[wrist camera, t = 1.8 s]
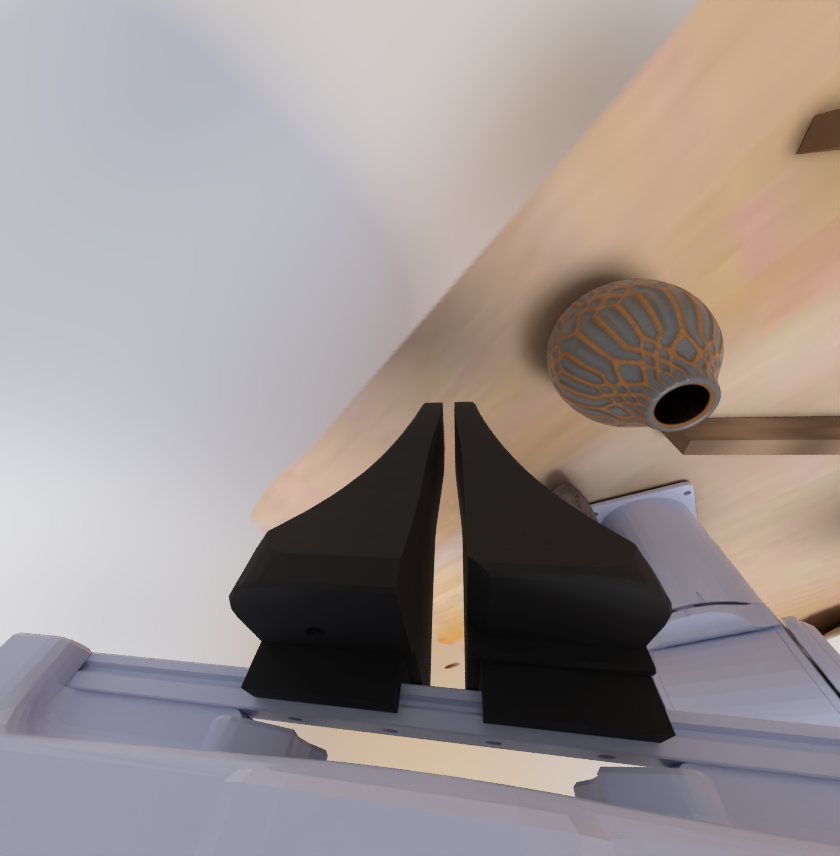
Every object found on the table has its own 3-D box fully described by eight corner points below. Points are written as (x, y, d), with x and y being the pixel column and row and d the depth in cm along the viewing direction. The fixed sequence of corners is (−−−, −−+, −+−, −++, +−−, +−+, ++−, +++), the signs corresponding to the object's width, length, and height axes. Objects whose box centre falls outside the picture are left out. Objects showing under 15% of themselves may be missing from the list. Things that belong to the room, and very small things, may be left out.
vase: (515, 321, 18) (553, 388, 11) (637, 238, 15) (795, 259, 8) (562, 400, 21) (617, 493, 14) (673, 343, 18) (814, 426, 11)
